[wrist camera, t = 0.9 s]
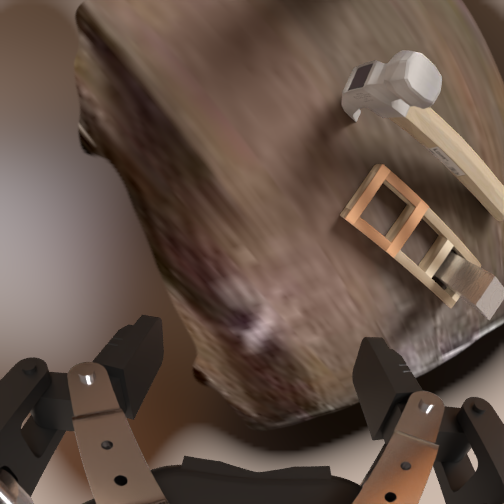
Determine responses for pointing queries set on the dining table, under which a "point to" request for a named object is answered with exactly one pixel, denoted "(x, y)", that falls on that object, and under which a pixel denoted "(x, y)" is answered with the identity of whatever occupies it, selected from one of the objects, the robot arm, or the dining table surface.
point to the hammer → (421, 118)
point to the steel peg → (471, 284)
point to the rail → (407, 229)
